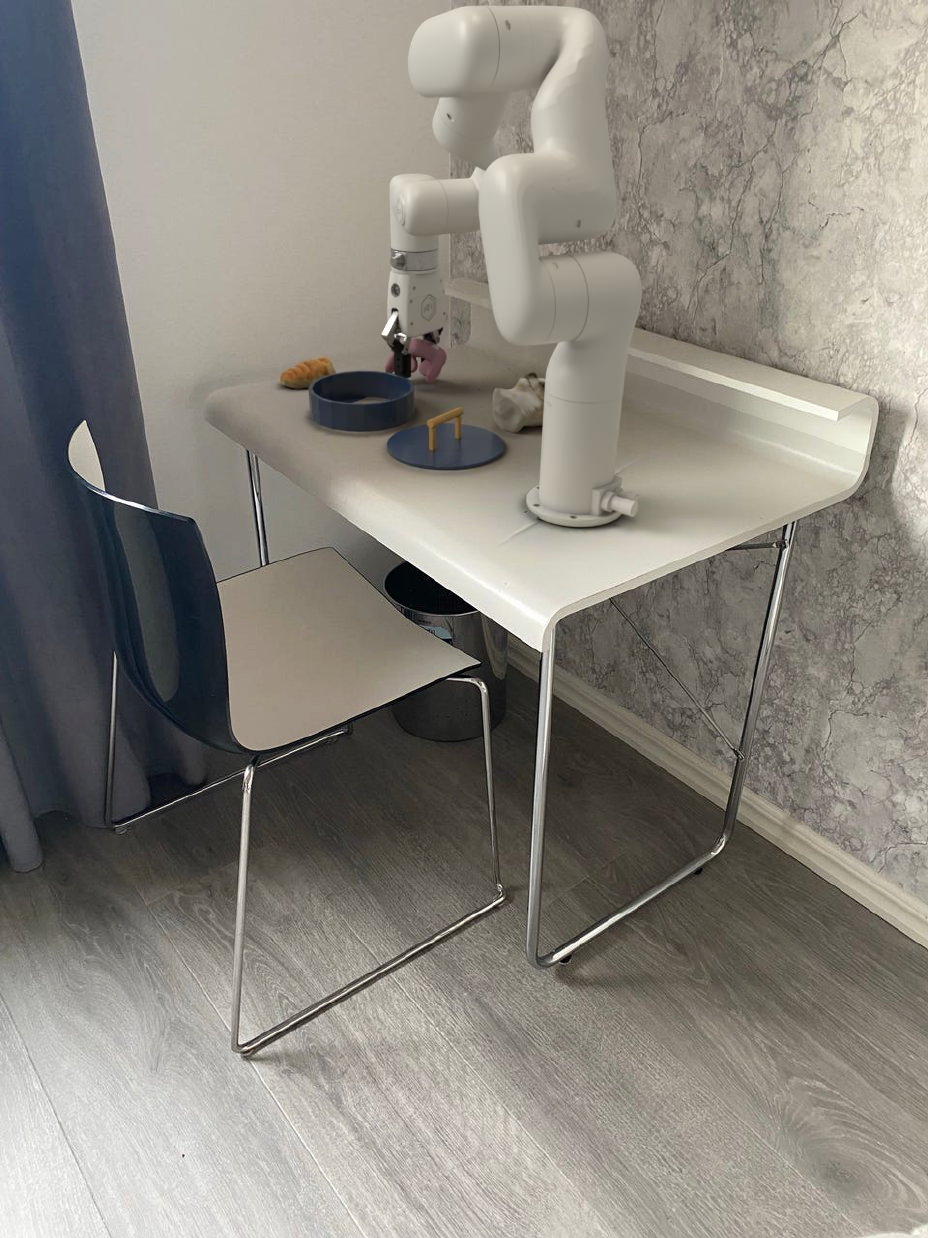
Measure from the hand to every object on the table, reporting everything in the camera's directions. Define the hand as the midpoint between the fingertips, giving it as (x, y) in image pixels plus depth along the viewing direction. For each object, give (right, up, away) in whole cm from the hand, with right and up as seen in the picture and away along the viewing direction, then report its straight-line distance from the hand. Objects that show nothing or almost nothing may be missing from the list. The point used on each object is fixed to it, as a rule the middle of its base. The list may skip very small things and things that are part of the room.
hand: (416, 370), depth 167 cm
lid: (+5, -17, -22) cm, 28 cm away
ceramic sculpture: (+19, -12, -12) cm, 25 cm away
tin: (-8, -10, -10) cm, 16 cm away
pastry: (-18, -1, +4) cm, 19 cm away
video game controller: (0, -1, +1) cm, 1 cm away
